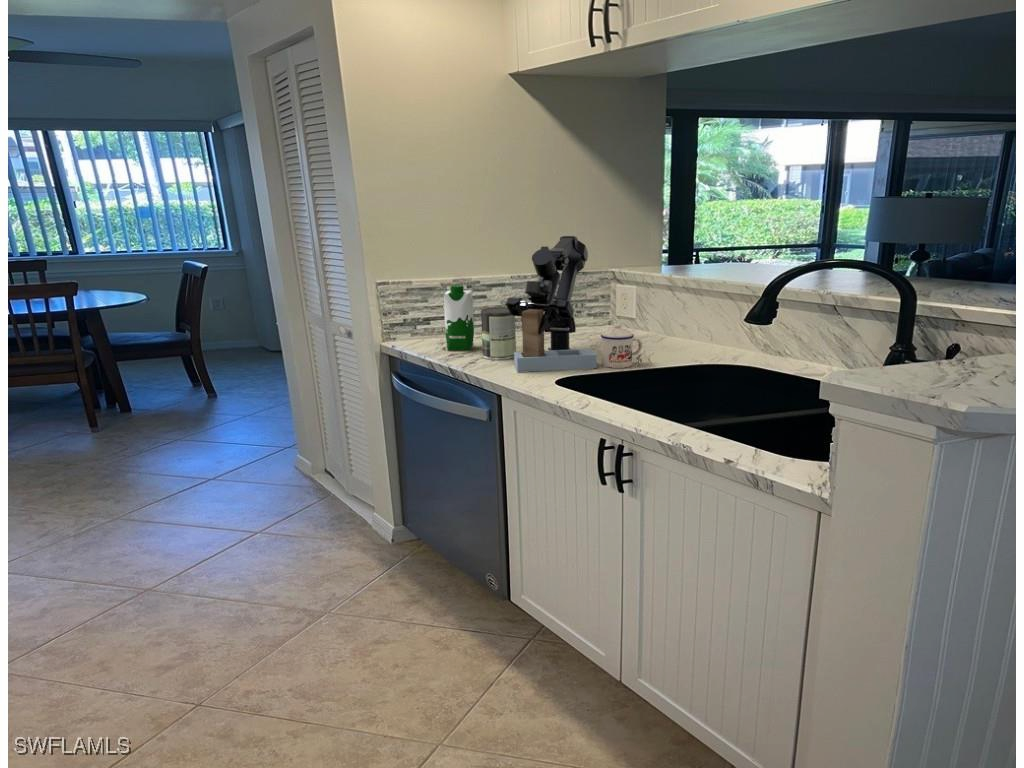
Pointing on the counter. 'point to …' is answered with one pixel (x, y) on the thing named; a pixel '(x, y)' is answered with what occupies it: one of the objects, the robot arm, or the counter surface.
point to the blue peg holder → (556, 360)
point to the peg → (532, 333)
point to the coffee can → (498, 333)
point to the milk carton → (459, 318)
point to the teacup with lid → (618, 347)
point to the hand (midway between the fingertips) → (531, 332)
